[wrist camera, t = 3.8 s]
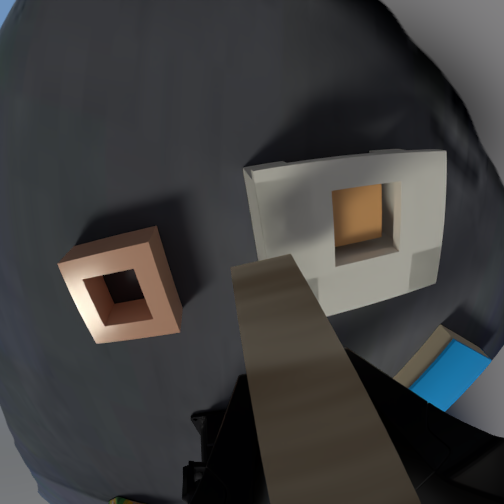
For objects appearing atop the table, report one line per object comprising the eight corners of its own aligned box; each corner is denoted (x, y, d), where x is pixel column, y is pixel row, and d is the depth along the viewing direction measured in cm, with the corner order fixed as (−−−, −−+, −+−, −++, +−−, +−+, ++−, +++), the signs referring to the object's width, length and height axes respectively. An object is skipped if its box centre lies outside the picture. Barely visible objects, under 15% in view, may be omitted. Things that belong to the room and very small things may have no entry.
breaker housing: (397, 251, 23) (435, 283, 18) (262, 282, 22) (276, 328, 17) (397, 141, 19) (446, 150, 14) (241, 158, 18) (252, 171, 13)
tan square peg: (297, 302, 14) (406, 560, 3) (242, 315, 13) (301, 594, 3) (290, 253, 12) (443, 556, 2) (230, 267, 12) (293, 609, 2)
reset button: (370, 229, 19) (381, 237, 18) (322, 238, 19) (331, 247, 17) (369, 177, 17) (381, 182, 16) (318, 184, 17) (327, 190, 16)
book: (320, 463, 33) (456, 342, 25) (313, 440, 36) (436, 319, 29) (389, 458, 38) (494, 361, 30) (381, 441, 42) (480, 345, 34)
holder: (182, 308, 22) (180, 332, 20) (106, 320, 22) (96, 343, 19) (156, 225, 20) (148, 242, 17) (73, 246, 19) (57, 263, 16)
